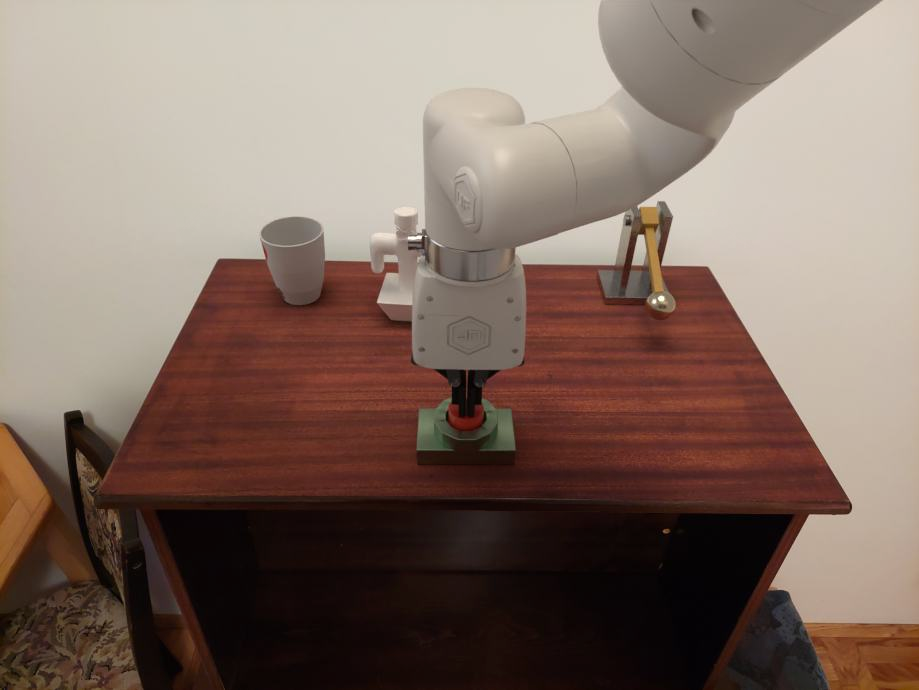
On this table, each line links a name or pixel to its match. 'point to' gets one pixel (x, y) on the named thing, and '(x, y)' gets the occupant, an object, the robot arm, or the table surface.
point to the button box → (465, 437)
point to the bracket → (622, 281)
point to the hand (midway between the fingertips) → (466, 407)
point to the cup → (295, 257)
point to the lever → (655, 268)
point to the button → (465, 418)
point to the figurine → (398, 285)
